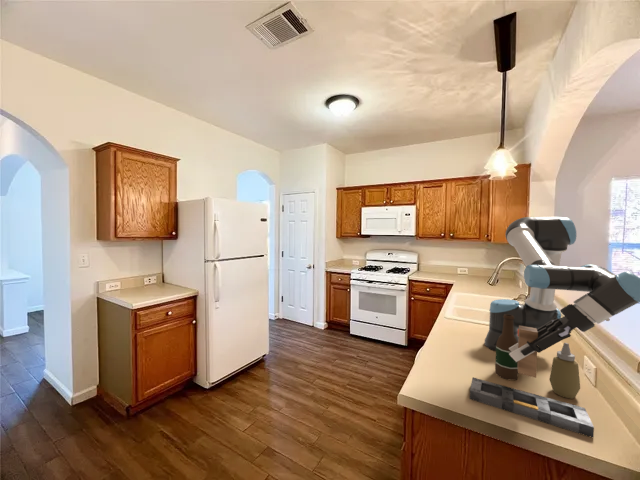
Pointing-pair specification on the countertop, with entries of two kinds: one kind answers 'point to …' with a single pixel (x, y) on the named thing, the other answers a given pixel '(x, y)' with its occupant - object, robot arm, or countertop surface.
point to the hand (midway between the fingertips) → (512, 354)
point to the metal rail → (532, 406)
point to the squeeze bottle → (565, 373)
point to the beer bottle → (506, 351)
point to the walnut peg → (529, 362)
